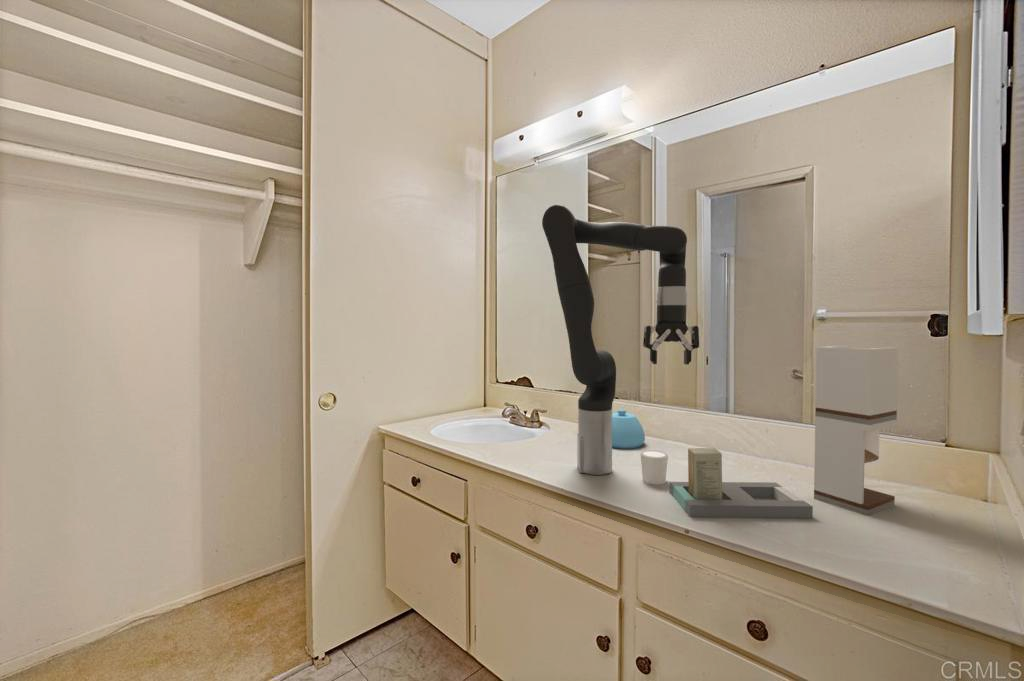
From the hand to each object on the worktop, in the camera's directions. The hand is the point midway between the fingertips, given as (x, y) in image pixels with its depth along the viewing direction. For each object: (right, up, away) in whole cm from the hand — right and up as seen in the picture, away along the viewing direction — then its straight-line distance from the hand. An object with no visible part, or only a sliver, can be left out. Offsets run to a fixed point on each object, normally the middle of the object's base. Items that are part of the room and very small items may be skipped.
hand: (670, 364), depth 122 cm
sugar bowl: (-6, -29, +31) cm, 42 cm away
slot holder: (+7, -30, -21) cm, 38 cm away
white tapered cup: (-6, -30, -5) cm, 31 cm away
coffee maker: (+34, -30, -20) cm, 50 cm away
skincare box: (0, -31, -21) cm, 37 cm away
